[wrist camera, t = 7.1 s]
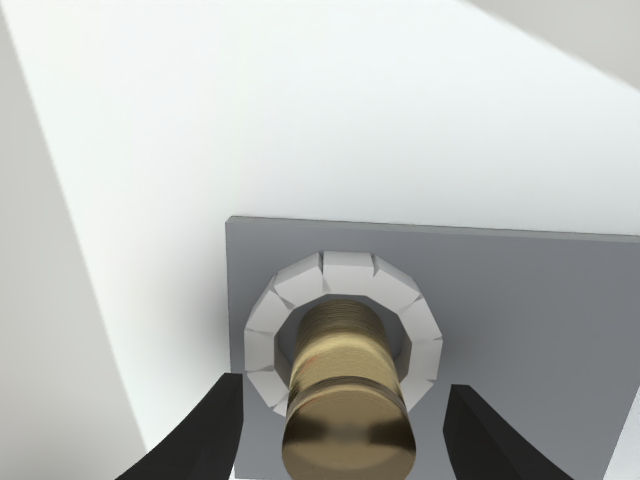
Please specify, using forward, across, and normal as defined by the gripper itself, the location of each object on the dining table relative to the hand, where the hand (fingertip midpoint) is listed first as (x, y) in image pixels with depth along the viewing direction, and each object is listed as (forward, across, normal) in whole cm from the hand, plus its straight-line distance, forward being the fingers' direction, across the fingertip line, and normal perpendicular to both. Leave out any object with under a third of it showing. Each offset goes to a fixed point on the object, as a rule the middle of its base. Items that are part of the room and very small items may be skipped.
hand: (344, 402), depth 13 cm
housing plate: (+5, -4, +2) cm, 7 cm away
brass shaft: (+4, 0, 0) cm, 4 cm away
